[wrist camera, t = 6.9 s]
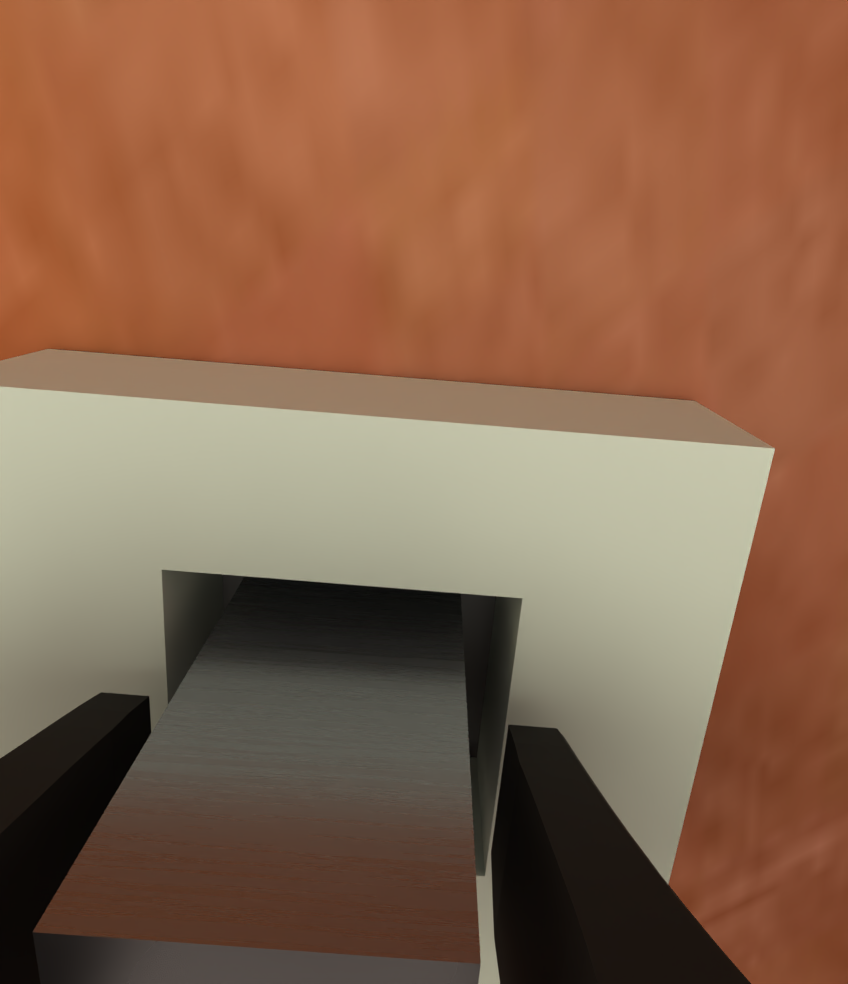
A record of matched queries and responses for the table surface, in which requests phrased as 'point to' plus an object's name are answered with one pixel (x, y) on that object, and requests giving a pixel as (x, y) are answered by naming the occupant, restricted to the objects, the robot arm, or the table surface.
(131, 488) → the bore block
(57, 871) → the robot arm
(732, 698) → the table surface
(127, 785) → the square bit
